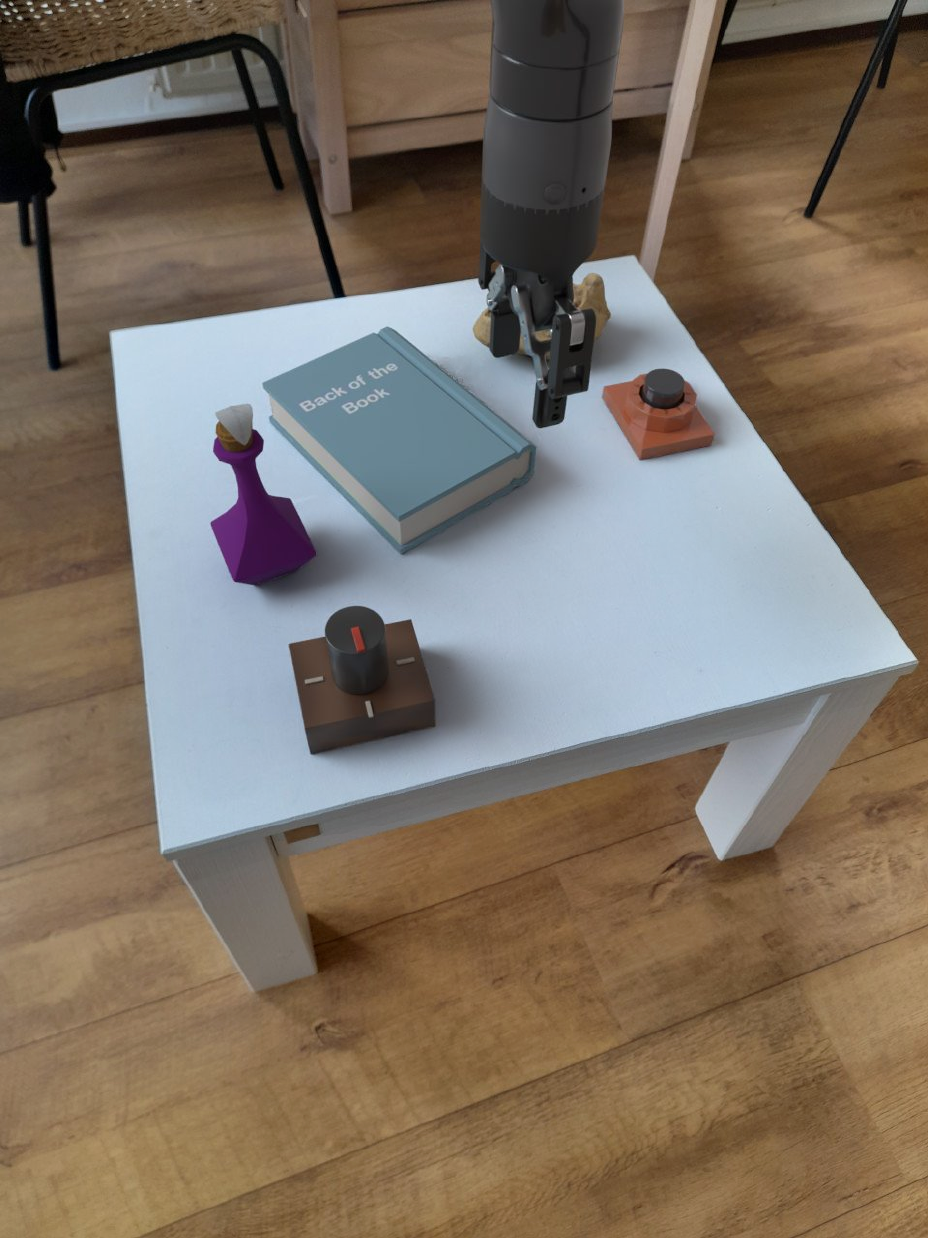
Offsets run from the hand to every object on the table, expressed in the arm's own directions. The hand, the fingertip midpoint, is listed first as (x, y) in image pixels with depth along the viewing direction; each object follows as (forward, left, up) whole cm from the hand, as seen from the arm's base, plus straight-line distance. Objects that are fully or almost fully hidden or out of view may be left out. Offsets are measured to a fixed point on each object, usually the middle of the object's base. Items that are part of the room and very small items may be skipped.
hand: (525, 386), depth 69 cm
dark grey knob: (-8, -23, -16) cm, 30 cm away
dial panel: (+6, +19, -20) cm, 28 cm away
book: (+15, -9, -20) cm, 27 cm away
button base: (-8, -23, -20) cm, 31 cm away
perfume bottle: (+20, +9, -20) cm, 29 cm away
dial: (+6, +19, -15) cm, 25 cm away
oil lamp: (+7, -30, -20) cm, 37 cm away
